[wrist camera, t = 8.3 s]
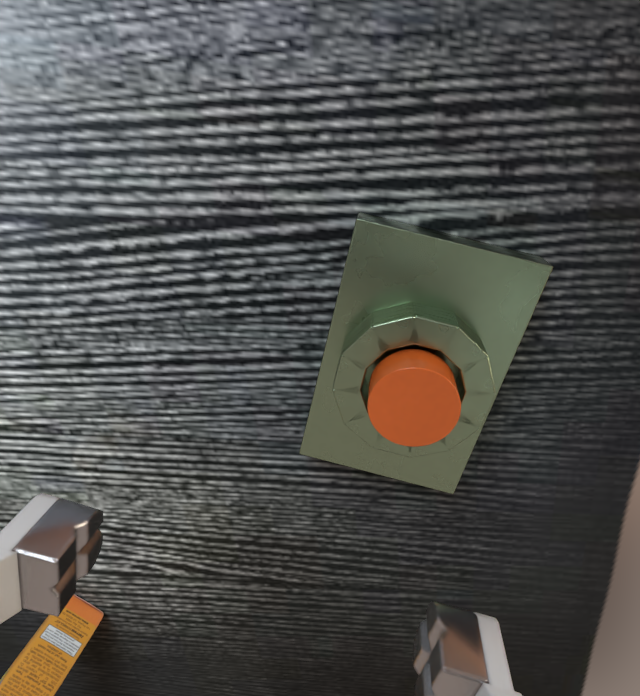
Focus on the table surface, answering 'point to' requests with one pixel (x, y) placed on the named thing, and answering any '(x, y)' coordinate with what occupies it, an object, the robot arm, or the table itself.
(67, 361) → the table surface
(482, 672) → the robot arm
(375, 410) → the button
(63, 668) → the supplement box
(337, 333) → the button box
